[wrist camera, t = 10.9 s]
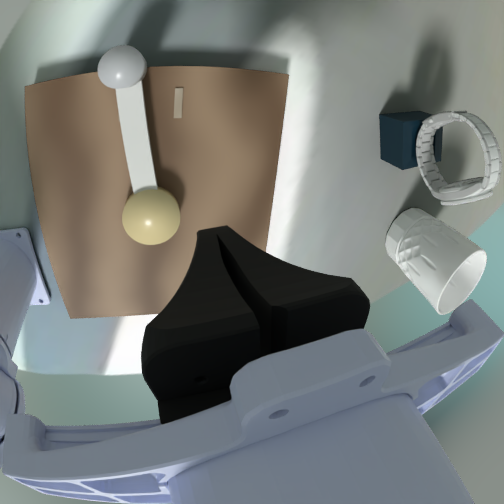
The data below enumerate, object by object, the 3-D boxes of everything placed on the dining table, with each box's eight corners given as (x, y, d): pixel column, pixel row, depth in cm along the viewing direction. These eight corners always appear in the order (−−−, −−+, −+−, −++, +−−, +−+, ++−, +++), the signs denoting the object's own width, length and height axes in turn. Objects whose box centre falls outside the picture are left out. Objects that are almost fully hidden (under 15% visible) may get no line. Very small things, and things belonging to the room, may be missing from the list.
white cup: (436, 219, 31) (491, 264, 23) (400, 268, 34) (449, 319, 26) (409, 190, 27) (478, 237, 19) (368, 248, 30) (426, 307, 22)
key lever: (183, 232, 21) (187, 257, 18) (131, 242, 20) (128, 269, 18) (158, 45, 13) (157, 37, 11) (95, 60, 13) (81, 56, 10)
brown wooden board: (73, 307, 24) (70, 319, 22) (33, 85, 13) (24, 86, 12) (253, 293, 29) (258, 304, 28) (281, 74, 18) (289, 74, 17)
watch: (380, 177, 25) (465, 234, 17) (377, 95, 21) (482, 126, 12) (419, 168, 26) (499, 216, 17) (419, 94, 21) (514, 124, 13)
